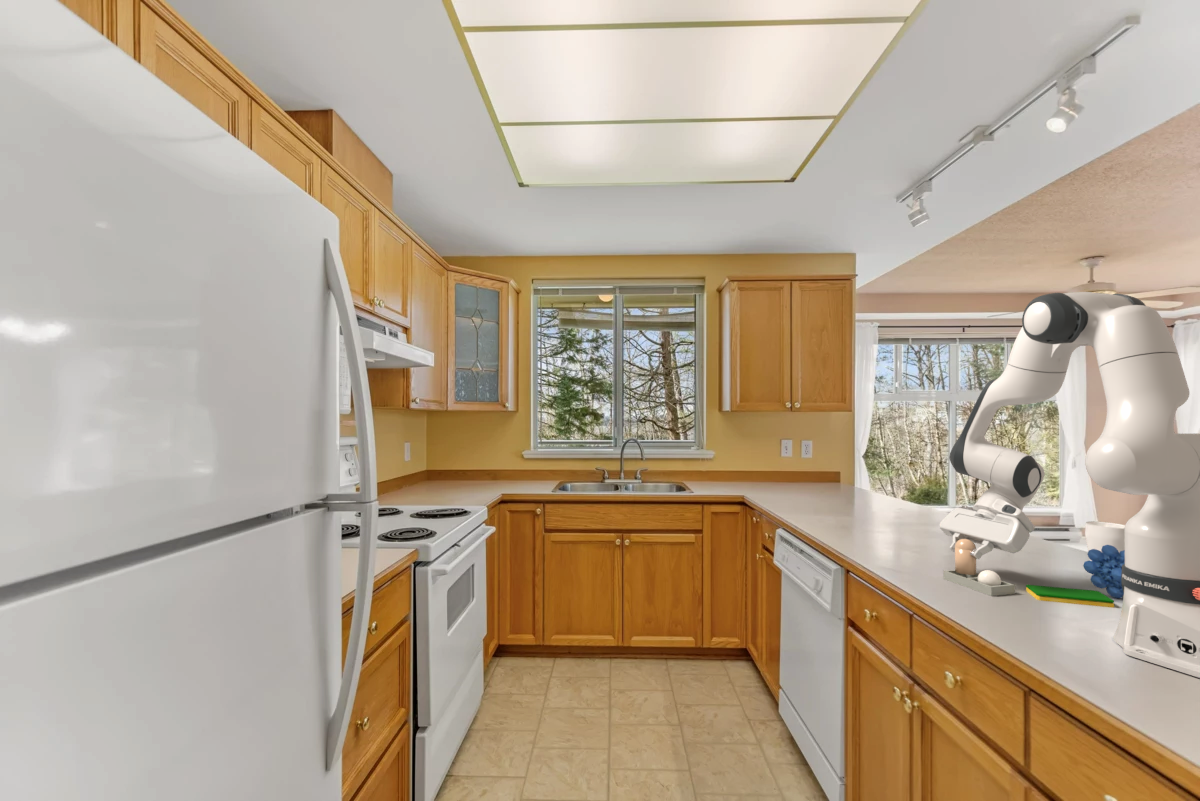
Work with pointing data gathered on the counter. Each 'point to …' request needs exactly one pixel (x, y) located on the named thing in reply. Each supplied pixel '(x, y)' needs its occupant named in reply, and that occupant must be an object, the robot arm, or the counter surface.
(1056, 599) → the dish sponge
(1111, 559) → the grapes
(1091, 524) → the cup
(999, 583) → the white egg
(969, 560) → the tan rounded cylinder
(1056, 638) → the counter surface
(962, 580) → the carton
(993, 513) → the robot arm
